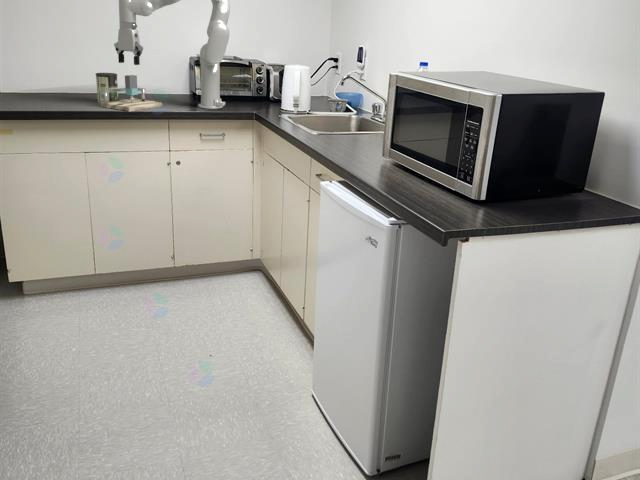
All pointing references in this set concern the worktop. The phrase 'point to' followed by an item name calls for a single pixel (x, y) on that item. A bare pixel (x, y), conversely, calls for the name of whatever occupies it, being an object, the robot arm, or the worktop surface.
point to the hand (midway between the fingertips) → (129, 63)
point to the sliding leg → (131, 86)
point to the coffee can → (106, 86)
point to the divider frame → (124, 90)
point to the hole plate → (131, 104)
